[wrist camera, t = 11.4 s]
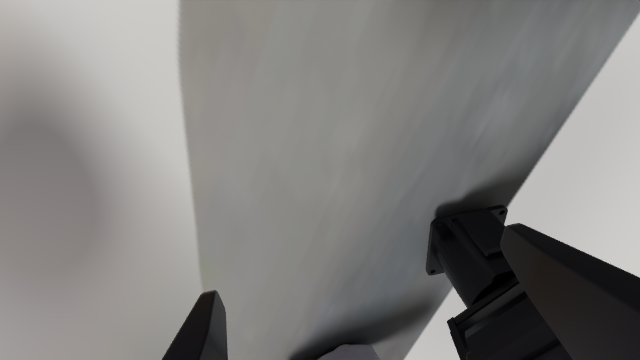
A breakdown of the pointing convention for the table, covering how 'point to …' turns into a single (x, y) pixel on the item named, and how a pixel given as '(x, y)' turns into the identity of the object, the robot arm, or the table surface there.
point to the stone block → (351, 353)
